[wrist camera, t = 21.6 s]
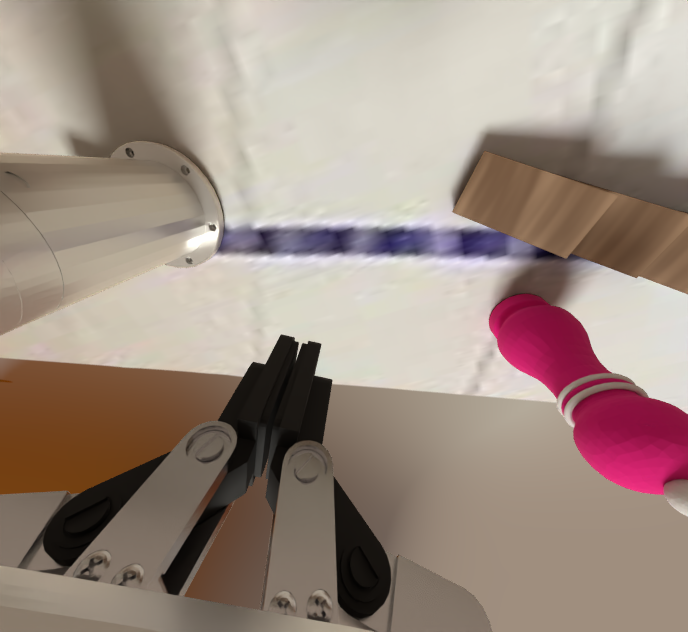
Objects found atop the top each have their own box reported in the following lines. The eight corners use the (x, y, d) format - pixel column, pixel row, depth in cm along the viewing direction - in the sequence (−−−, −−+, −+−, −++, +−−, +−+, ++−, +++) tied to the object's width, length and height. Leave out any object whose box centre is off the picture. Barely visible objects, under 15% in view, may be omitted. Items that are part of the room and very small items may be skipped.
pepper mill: (473, 335, 32) (588, 533, 14) (502, 282, 28) (701, 462, 11) (530, 347, 32) (715, 561, 14) (566, 296, 28) (872, 499, 11)
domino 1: (452, 212, 23) (566, 258, 21) (484, 150, 21) (618, 195, 18) (453, 211, 25) (559, 255, 23) (484, 154, 23) (607, 196, 20)
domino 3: (563, 247, 24) (690, 295, 21) (606, 191, 21) (757, 237, 19) (557, 245, 26) (675, 289, 23) (597, 192, 23) (735, 235, 20)
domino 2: (512, 231, 24) (636, 278, 21) (550, 172, 21) (697, 216, 18) (511, 230, 25) (625, 273, 23) (546, 175, 23) (679, 216, 20)
